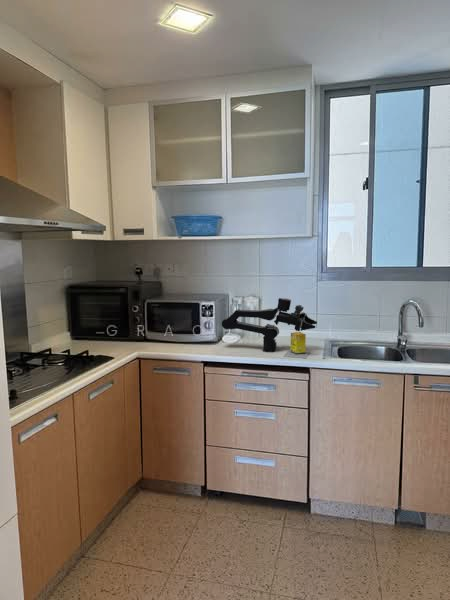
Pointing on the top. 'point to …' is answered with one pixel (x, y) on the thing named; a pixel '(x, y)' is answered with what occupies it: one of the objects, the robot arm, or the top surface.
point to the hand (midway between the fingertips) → (316, 324)
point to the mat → (290, 354)
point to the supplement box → (298, 343)
